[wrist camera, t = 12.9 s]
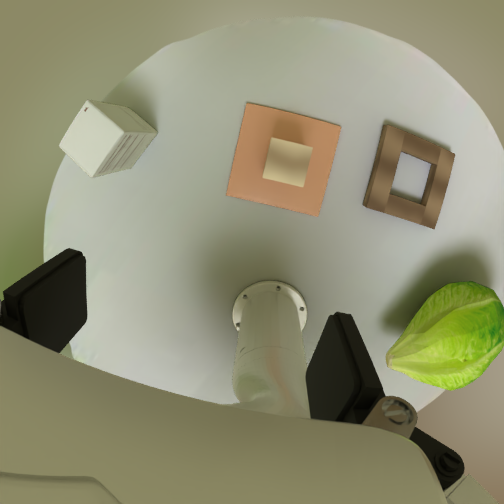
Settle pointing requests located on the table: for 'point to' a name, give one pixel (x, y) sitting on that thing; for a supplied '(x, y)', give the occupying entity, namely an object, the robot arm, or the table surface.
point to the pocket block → (385, 172)
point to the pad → (255, 152)
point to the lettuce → (451, 337)
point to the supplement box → (106, 138)
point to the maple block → (287, 162)
